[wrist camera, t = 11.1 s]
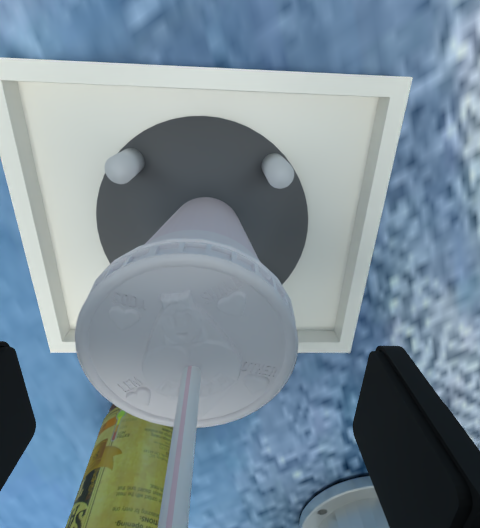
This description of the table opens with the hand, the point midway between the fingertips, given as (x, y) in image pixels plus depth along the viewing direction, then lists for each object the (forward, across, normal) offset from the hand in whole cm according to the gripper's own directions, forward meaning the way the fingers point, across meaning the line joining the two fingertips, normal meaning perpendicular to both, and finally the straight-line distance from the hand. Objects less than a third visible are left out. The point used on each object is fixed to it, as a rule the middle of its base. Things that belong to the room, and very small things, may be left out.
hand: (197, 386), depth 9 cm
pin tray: (+12, 0, -1) cm, 12 cm away
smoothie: (+11, 0, -1) cm, 11 cm away
